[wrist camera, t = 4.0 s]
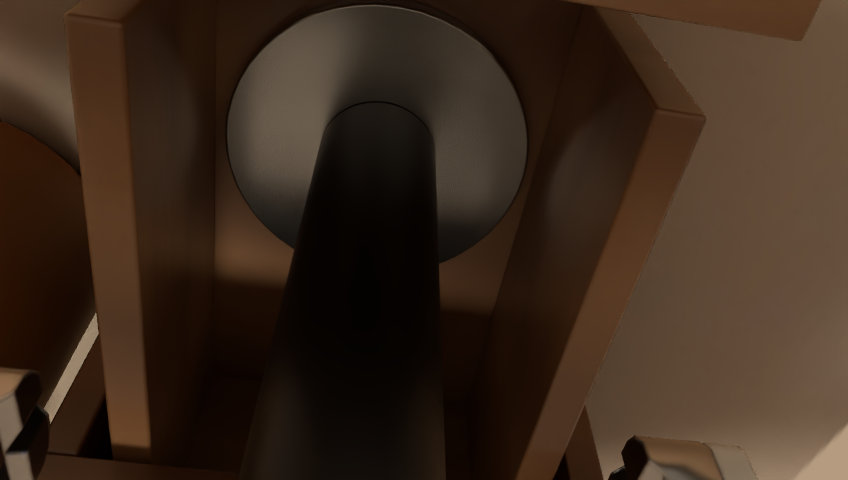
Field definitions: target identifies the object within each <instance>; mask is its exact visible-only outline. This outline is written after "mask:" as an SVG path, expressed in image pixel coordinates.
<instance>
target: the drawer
mask: <svg viewBox="0 0 848 480" xmlns="http://www.w3.org/2000/svg"><path fill="white" fill-rule="evenodd" d="M334 1H338V0H81V1H80V2H79V3H78V4H76V5H75V6H74V7H73V8H71V9H70V10H69V11H68V12H66V13H65V15H64V27H65V36H66V45H67V54H68V62H69V71H70V80H71V89H72V98H73V107H74V116H75V125H76V134H77V143H78V152H79V161H80V170H81V179H82V188H83V197H84V206H85V215H86V224H87V233H88V241H89V250H90V259H91V268H92V277H93V286H94V295H95V304H96V313H97V322H98V331H99V340H100V349H101V358H102V367H103V376H104V385H105V394H106V403H107V411H108V420H109V429H110V438H111V447H112V456H113V460H117V461H127V462H136V463H146V464H155V465H165V466H175V467H184V468H194V469H204V470H213V471H223V472H233V473H240V469H241V465H242V460H243V456H244V452H245V448H246V444H247V440H248V436H249V432H250V428H251V424H252V420H253V416H254V411H255V407H256V403H257V399H258V395H259V391H260V387H261V383H262V379H263V375H264V371H265V367H266V363H267V358H268V354H269V350H270V346H271V342H272V338H273V334H274V330H275V326H276V322H277V318H278V314H279V309H280V305H281V301H282V297H283V293H284V289H285V285H286V281H287V277H288V273H289V269H290V265H291V261H292V256H293V252H294V249H293V248H291V247H290V246H288V245H287V244H285V243H284V242H283V241H281V240H280V239H278V238H277V237H276V236H275V235H274V234H273V233H272V232H271V231H269V230H268V229H267V228H266V227H265V226H264V225H263V224H262V222H261V221H260V220H259V219H258V218H257V217H256V216H255V215H254V213H253V212H252V210H251V209H250V208H249V206H248V205H247V203H246V202H245V200H244V199H243V197H242V195H241V193H240V191H239V189H238V187H237V185H236V183H235V180H234V177H233V174H232V172H231V169H230V165H229V161H228V156H227V151H226V137H225V127H226V117H227V110H228V106H229V102H230V98H231V95H232V92H233V90H234V88H235V85H236V83H237V80H238V78H239V76H240V74H241V72H242V71H243V69H244V67H245V66H246V64H247V62H248V61H249V59H250V57H251V56H252V54H253V53H254V52H255V51H256V50H257V49H258V47H259V46H260V45H261V44H262V43H263V41H264V40H265V39H266V38H268V37H269V36H270V35H271V34H272V33H273V32H274V31H275V30H277V29H278V28H279V27H280V26H282V25H283V24H285V23H286V22H288V21H289V20H291V19H292V18H294V17H296V16H297V15H299V14H302V13H304V12H306V11H308V10H310V9H312V8H314V7H317V6H321V5H324V4H327V3H330V2H334ZM407 1H412V2H416V3H420V4H423V5H426V6H429V7H431V8H434V9H436V10H439V11H442V12H444V13H446V14H447V15H449V16H451V17H453V18H455V19H457V20H458V21H460V22H462V23H463V24H465V25H466V26H467V27H469V28H470V29H471V30H473V31H474V32H475V33H477V34H478V35H479V36H480V37H481V38H482V39H483V40H484V41H485V42H486V43H487V44H488V45H490V46H491V47H492V48H493V50H494V51H495V52H496V54H497V55H498V56H499V57H500V59H501V60H502V61H503V62H504V64H505V65H506V67H507V69H508V71H509V72H510V74H511V76H512V78H513V79H514V81H515V84H516V86H517V89H518V91H519V94H520V96H521V99H522V103H523V107H524V111H525V115H526V119H527V123H528V135H529V150H528V161H527V166H526V171H525V176H524V178H523V181H522V184H521V187H520V189H519V192H518V194H517V196H516V198H515V200H514V202H513V203H512V205H511V207H510V209H509V210H508V211H507V213H506V214H505V216H504V217H503V218H502V220H501V221H500V222H499V223H498V224H497V225H496V227H495V228H494V229H493V230H492V231H491V232H490V233H489V234H488V235H487V236H485V237H484V238H483V239H482V240H481V241H479V242H478V243H477V244H476V245H474V246H473V247H471V248H470V249H468V250H467V251H465V252H463V253H462V254H460V255H458V256H456V257H454V258H452V259H450V260H448V261H446V262H443V263H440V264H439V281H440V312H441V343H442V374H443V405H444V436H445V467H446V480H553V478H554V476H555V473H556V471H557V469H558V466H559V464H560V462H561V459H562V457H563V455H564V452H565V450H566V448H567V445H568V443H569V441H570V438H571V436H572V434H573V431H574V429H575V427H576V424H577V422H578V419H579V417H580V415H581V412H582V410H583V408H584V405H585V403H586V401H587V398H588V396H589V394H590V391H591V389H592V387H593V384H594V382H595V380H596V377H597V375H598V373H599V370H600V368H601V366H602V363H603V361H604V358H605V356H606V354H607V351H608V349H609V347H610V344H611V342H612V340H613V337H614V335H615V333H616V330H617V328H618V326H619V323H620V321H621V319H622V316H623V314H624V312H625V309H626V307H627V305H628V302H629V300H630V297H631V295H632V293H633V290H634V288H635V286H636V283H637V281H638V279H639V276H640V274H641V272H642V269H643V267H644V265H645V262H646V260H647V258H648V255H649V253H650V251H651V248H652V246H653V244H654V241H655V239H656V236H657V234H658V232H659V229H660V227H661V225H662V222H663V220H664V218H665V215H666V213H667V211H668V208H669V206H670V204H671V201H672V199H673V197H674V194H675V192H676V190H677V187H678V185H679V183H680V180H681V178H682V175H683V173H684V171H685V168H686V166H687V164H688V161H689V159H690V157H691V154H692V152H693V150H694V147H695V145H696V143H697V140H698V138H699V136H700V133H701V131H702V129H703V126H704V124H705V121H706V116H705V115H704V114H703V112H702V111H701V109H700V108H699V107H698V105H697V104H696V103H695V101H694V100H693V99H692V97H691V96H690V94H689V93H688V92H687V90H686V89H685V88H684V86H683V85H682V84H681V82H680V81H679V79H678V78H677V77H676V75H675V74H674V73H673V71H672V70H671V69H670V67H669V66H668V64H667V63H666V62H665V60H664V59H663V58H662V56H661V55H660V54H659V52H658V51H657V49H656V48H655V47H654V45H653V44H652V43H651V41H650V40H649V39H648V37H647V36H646V34H645V33H644V32H643V30H642V29H641V28H640V26H639V25H638V24H637V22H636V21H635V19H634V18H633V17H632V15H631V14H630V13H629V12H631V13H636V14H642V15H648V16H654V17H659V18H665V19H671V20H677V21H682V22H688V23H694V24H700V25H705V26H711V27H717V28H723V29H728V30H734V31H740V32H746V33H752V34H757V35H763V36H769V37H775V38H780V39H786V40H792V41H802V39H803V38H804V36H805V34H806V32H807V29H808V27H809V25H810V23H811V21H812V19H813V17H814V15H815V13H816V11H817V8H818V6H819V4H820V2H821V0H407Z"/></svg>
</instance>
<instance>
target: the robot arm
mask: <svg viewBox="0 0 848 480" xmlns="http://www.w3.org/2000/svg"><path fill="white" fill-rule="evenodd" d="M43 391H44V387H43V383H42V379H41V375H40V372H38V371H35V370H31V369H24V368H16V367H9V366H1V365H0V480H37V478H38V476H39V474H40V472H41V470H42V468H43V465H44V462H45V458H46V455H47V451H48V447H49V444H50V421H49V414H48V413H47V412H46V411H45V410H44V409H43V408H42V407H41V406H39V405H38V404H37V402H38V400H39V398H40V397H41V395H42V393H43ZM621 454H622V457H623V461H624V466H622V467H620V468H619V469H617V470H615V471H614V472H612V473H611V475H610V477H609V479H608V480H758V479H757V476H756V474H755V472H754V470H753V468H752V466H751V463H750V461H749V459H748V457H747V455H746V453H745V452H744V451H743V450H742V449H741V448H740V447H739V446H730V445H720V444H711V443H700V442H696V441H685V440H675V439H665V438H655V437H645V436H635V435H634V436H633V437H632V438H630V439H629V440H628V441H627V442H626V444H625V446H624V448H623V450H622V452H621Z"/></svg>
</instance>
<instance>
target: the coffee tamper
mask: <svg viewBox="0 0 848 480" xmlns="http://www.w3.org/2000/svg"><path fill="white" fill-rule="evenodd" d="M225 137H226V151H227V156H228V161H229V165H230V169H231V172H232V174H233V177H234V180H235V183H236V185H237V187H238V189H239V191H240V193H241V195H242V197H243V199H244V200H245V202H246V203H247V205H248V206H249V208H250V209H251V210H252V212H253V213H254V215H255V216H256V217H257V218H258V219H259V220H260V221H261V222H262V224H263V225H264V226H265V227H266V228H267V229H268V230H269V231H271V232H272V233H273V234H274V235H275V236H276V237H277V238H278V239H280V240H281V241H283V242H284V243H285V244H287V245H288V246H290V247H291V248H293V249H294V252H293V256H292V261H291V265H290V269H289V273H288V277H287V281H286V285H285V289H284V293H283V297H282V301H281V305H280V309H279V314H278V318H277V322H276V326H275V330H274V334H273V338H272V342H271V346H270V350H269V354H268V358H267V363H266V367H265V371H264V375H263V379H262V383H261V387H260V391H259V395H258V399H257V403H256V407H255V411H254V416H253V420H252V424H251V428H250V432H249V436H248V440H247V444H246V448H245V452H244V456H243V460H242V465H241V469H240V473H239V477H238V480H446V467H445V436H444V405H443V374H442V343H441V312H440V281H439V264H440V263H443V262H446V261H448V260H450V259H452V258H454V257H456V256H458V255H460V254H462V253H463V252H465V251H467V250H468V249H470V248H471V247H473V246H474V245H476V244H477V243H478V242H479V241H481V240H482V239H483V238H484V237H485V236H487V235H488V234H489V233H490V232H491V231H492V230H493V229H494V228H495V227H496V225H497V224H498V223H499V222H500V221H501V220H502V218H503V217H504V216H505V214H506V213H507V211H508V210H509V209H510V207H511V205H512V203H513V202H514V200H515V198H516V196H517V194H518V192H519V189H520V187H521V184H522V181H523V178H524V176H525V171H526V166H527V161H528V150H529V135H528V123H527V119H526V115H525V111H524V107H523V103H522V99H521V96H520V94H519V91H518V89H517V86H516V84H515V81H514V79H513V78H512V76H511V74H510V72H509V71H508V69H507V67H506V65H505V64H504V62H503V61H502V60H501V59H500V57H499V56H498V55H497V54H496V52H495V51H494V50H493V48H492V47H491V46H490V45H488V44H487V43H486V42H485V41H484V40H483V39H482V38H481V37H480V36H479V35H478V34H477V33H475V32H474V31H473V30H471V29H470V28H469V27H467V26H466V25H465V24H463V23H462V22H460V21H458V20H457V19H455V18H453V17H451V16H449V15H447V14H446V13H444V12H442V11H439V10H436V9H434V8H431V7H429V6H426V5H423V4H420V3H416V2H412V1H407V0H338V1H334V2H330V3H327V4H324V5H321V6H317V7H314V8H312V9H310V10H308V11H306V12H304V13H302V14H299V15H297V16H296V17H294V18H292V19H291V20H289V21H288V22H286V23H285V24H283V25H282V26H280V27H279V28H278V29H277V30H275V31H274V32H273V33H272V34H271V35H270V36H269V37H268V38H266V39H265V40H264V41H263V43H262V44H261V45H260V46H259V47H258V49H257V50H256V51H255V52H254V53H253V54H252V56H251V57H250V59H249V61H248V62H247V64H246V66H245V67H244V69H243V71H242V72H241V74H240V76H239V78H238V80H237V83H236V85H235V88H234V90H233V92H232V95H231V98H230V102H229V106H228V110H227V117H226V127H225Z"/></svg>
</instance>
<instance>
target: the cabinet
mask: <svg viewBox="0 0 848 480" xmlns="http://www.w3.org/2000/svg"><path fill="white" fill-rule="evenodd" d="M238 477H239V473H233V472H223V471H213V470H204V469H194V468H184V467H175V466H165V465H155V464H146V463H136V462H127V461H117V460H113V456H112V447H111V438H110V429H109V420H108V411H107V403H106V394H105V385H104V376H103V367H102V358H101V349H100V340H99V334H98V336H97V338H96V340H95V342H94V344H93V346H92V348H91V349H90V351H89V353H88V355H87V357H86V359H85V361H84V362H83V364H82V366H81V368H80V370H79V372H78V374H77V376H76V377H75V379H74V381H73V383H72V385H71V387H70V389H69V391H68V392H67V394H66V396H65V398H64V400H63V402H62V404H61V406H60V407H59V409H58V411H57V413H56V415H55V417H54V419H53V421H52V422H51V424H50V444H49V447H48V451H47V455H46V458H45V462H44V465H43V468H42V470H41V472H40V474H39V476H38V478H37V480H238ZM553 480H603V476H602V471H601V467H600V463H599V459H598V455H597V451H596V447H595V443H594V438H593V434H592V430H591V426H590V422H589V418H588V414H587V409H586V405H584V408H583V410H582V412H581V415H580V417H579V419H578V422H577V424H576V427H575V429H574V431H573V434H572V436H571V438H570V441H569V443H568V445H567V448H566V450H565V452H564V455H563V457H562V459H561V462H560V464H559V466H558V469H557V471H556V473H555V476H554V478H553Z"/></svg>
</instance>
